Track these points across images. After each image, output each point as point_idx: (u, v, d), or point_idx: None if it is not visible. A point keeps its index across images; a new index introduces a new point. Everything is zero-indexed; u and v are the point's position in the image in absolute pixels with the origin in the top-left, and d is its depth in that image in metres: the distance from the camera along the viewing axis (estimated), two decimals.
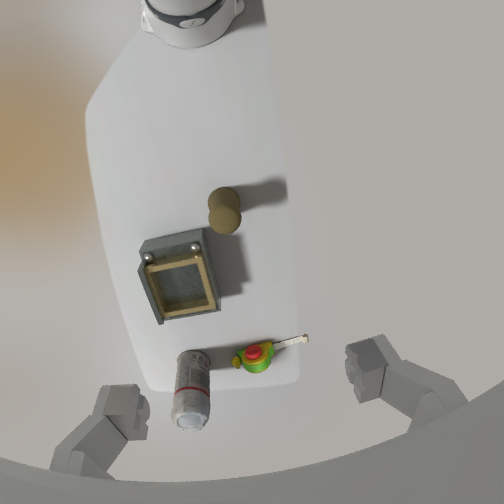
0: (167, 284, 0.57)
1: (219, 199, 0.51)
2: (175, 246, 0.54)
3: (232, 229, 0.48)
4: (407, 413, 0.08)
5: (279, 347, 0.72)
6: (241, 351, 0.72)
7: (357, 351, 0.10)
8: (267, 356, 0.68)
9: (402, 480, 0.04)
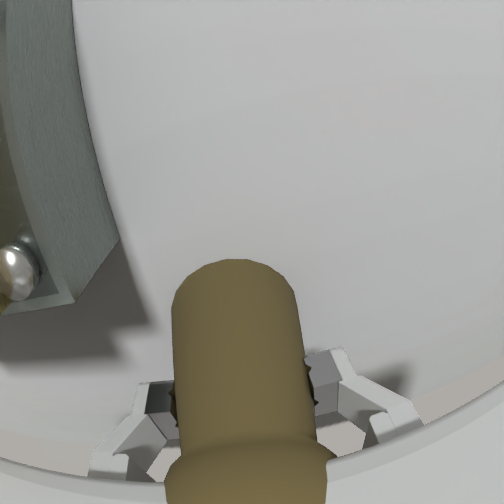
0: None
1: (309, 392, 0.09)
2: (0, 142, 0.06)
3: None
4: (364, 429, 0.08)
5: None
6: None
7: (311, 364, 0.10)
8: None
9: (402, 480, 0.04)
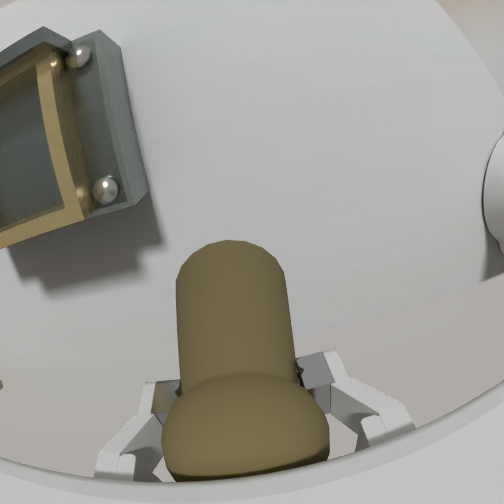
0: (9, 118, 0.14)
1: (294, 351, 0.11)
2: (105, 131, 0.16)
3: None
4: (357, 431, 0.08)
5: None
6: None
7: (304, 365, 0.10)
8: None
9: (402, 480, 0.04)
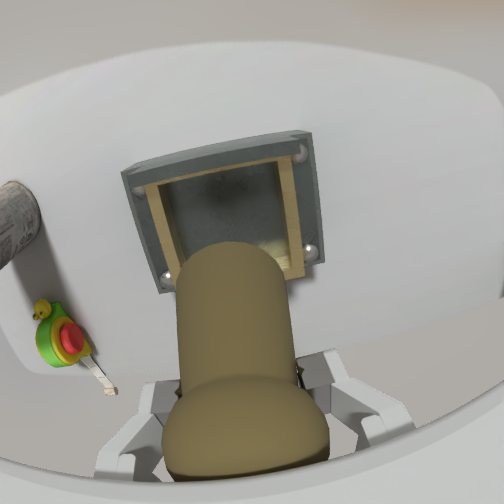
0: (224, 186, 0.25)
1: (294, 353, 0.11)
2: (313, 212, 0.26)
3: None
4: (357, 431, 0.08)
5: (84, 361, 0.38)
6: (61, 310, 0.34)
7: (304, 365, 0.10)
8: (73, 363, 0.32)
9: (402, 480, 0.04)
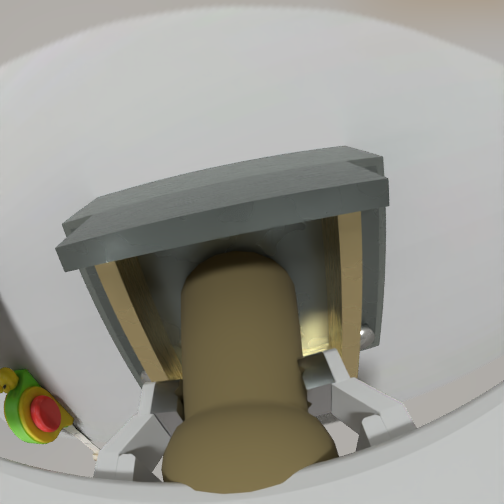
0: (234, 249, 0.14)
1: None
2: (374, 283, 0.16)
3: None
4: (358, 431, 0.08)
5: (66, 429, 0.27)
6: (30, 378, 0.23)
7: (305, 365, 0.10)
8: (51, 440, 0.22)
9: (402, 480, 0.04)
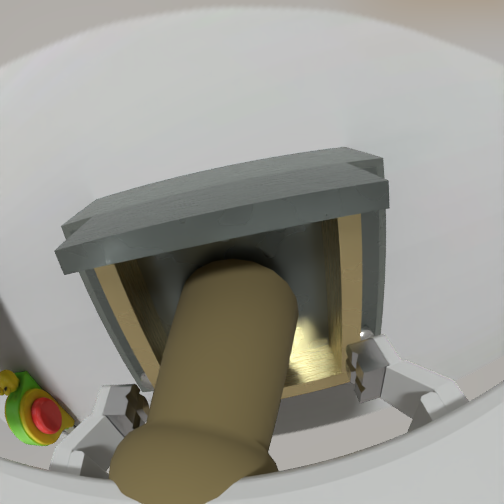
0: (234, 251, 0.14)
1: (277, 398, 0.10)
2: (373, 285, 0.16)
3: None
4: (407, 413, 0.08)
5: (67, 430, 0.27)
6: (30, 380, 0.23)
7: (357, 351, 0.10)
8: (52, 442, 0.22)
9: (402, 480, 0.04)
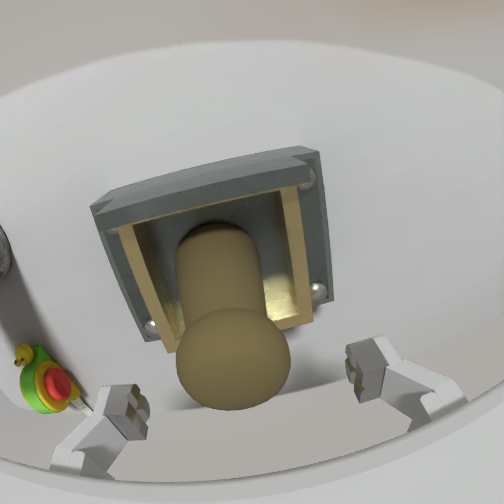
0: (214, 221, 0.20)
1: (264, 300, 0.16)
2: (321, 246, 0.22)
3: (205, 403, 0.12)
4: (407, 413, 0.08)
5: (75, 403, 0.32)
6: (44, 353, 0.29)
7: (357, 351, 0.10)
8: (62, 410, 0.27)
9: (402, 480, 0.04)
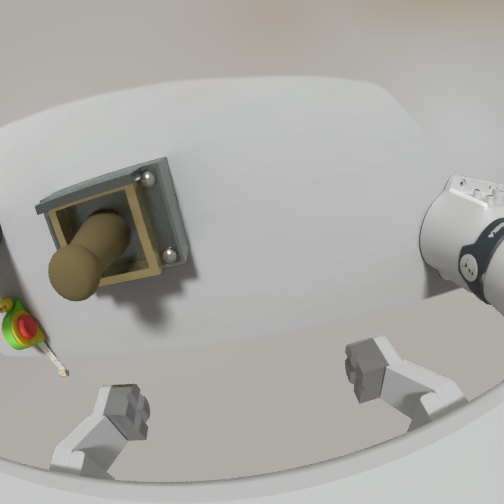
0: (102, 208, 0.31)
1: (105, 248, 0.27)
2: (168, 224, 0.33)
3: (58, 291, 0.23)
4: (407, 413, 0.08)
5: (41, 347, 0.44)
6: (20, 305, 0.40)
7: (357, 351, 0.10)
8: (29, 346, 0.39)
9: (402, 480, 0.04)
